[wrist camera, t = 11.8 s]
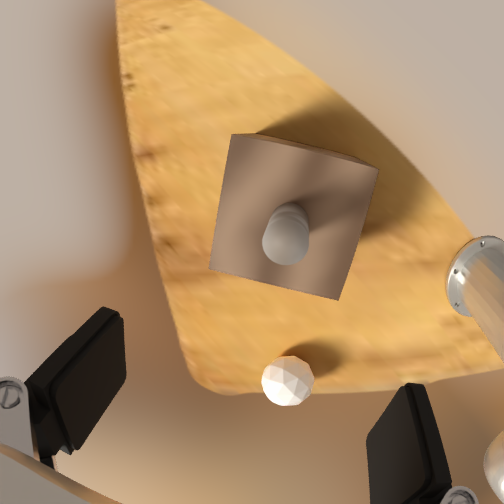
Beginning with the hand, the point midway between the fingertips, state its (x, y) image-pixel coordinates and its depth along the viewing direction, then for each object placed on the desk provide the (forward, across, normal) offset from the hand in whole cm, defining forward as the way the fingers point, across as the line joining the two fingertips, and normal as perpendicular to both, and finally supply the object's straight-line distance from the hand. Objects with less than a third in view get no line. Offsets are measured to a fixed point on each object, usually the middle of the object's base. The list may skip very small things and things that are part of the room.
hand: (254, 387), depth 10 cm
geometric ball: (+32, -6, +26) cm, 42 cm away
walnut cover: (+32, 0, 0) cm, 32 cm away
